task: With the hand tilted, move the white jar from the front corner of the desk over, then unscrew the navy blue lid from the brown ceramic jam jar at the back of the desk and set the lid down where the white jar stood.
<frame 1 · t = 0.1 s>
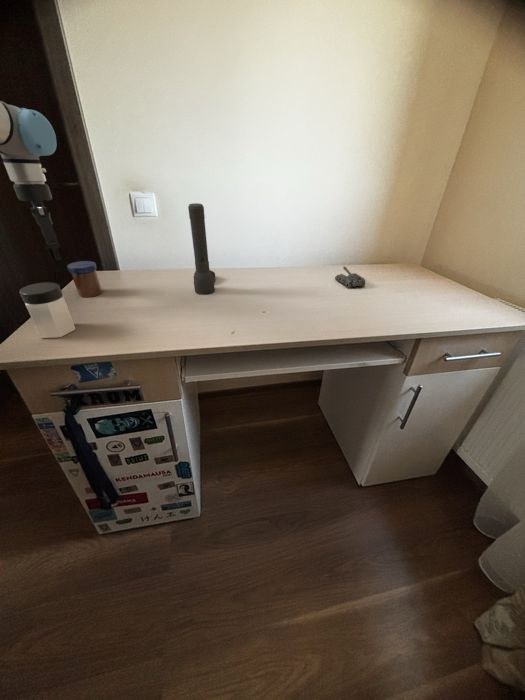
hand: (59, 265, 84), 12 cm above the table, tool pointing down, fingers open, 13 cm apart
lid: (81, 265, 92), point 9 cm above the table, screwed on, not yet turned
jar: (57, 331, 75), on the table
tank toy: (349, 283, 114), on the table
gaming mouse: (207, 282, 110), on the table, touching flashlight
jam jar: (90, 293, 97), on the table
flashlight: (204, 290, 102), on the table, touching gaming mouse
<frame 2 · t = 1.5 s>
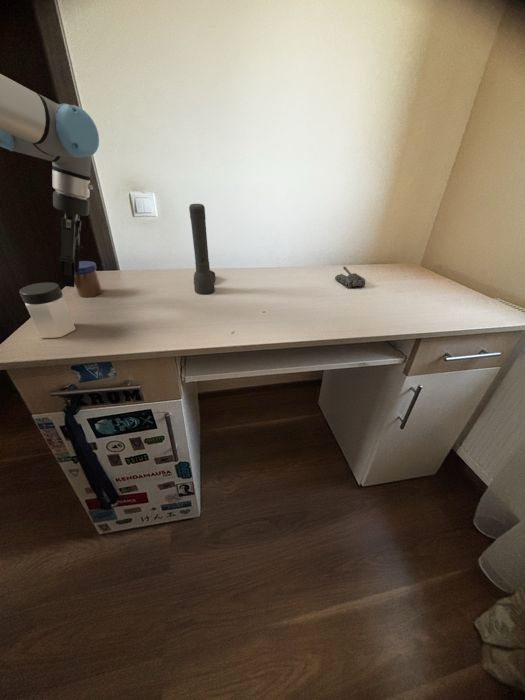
hand: (70, 278, 78), 11 cm above the table, tool tilted 15°, fingers open, 13 cm apart
flashlight: (204, 290, 102), on the table, touching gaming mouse
everything else where it was.
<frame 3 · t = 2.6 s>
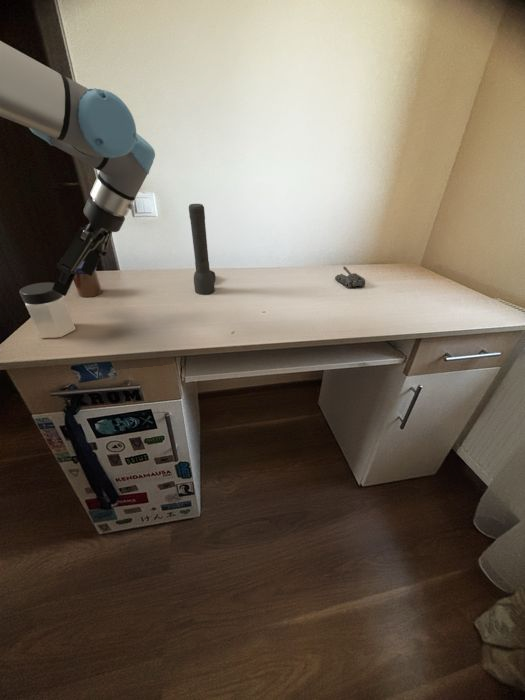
hand: (73, 281, 70), 13 cm above the table, tool tilted 35°, fingers open, 13 cm apart
nothing on the table moved.
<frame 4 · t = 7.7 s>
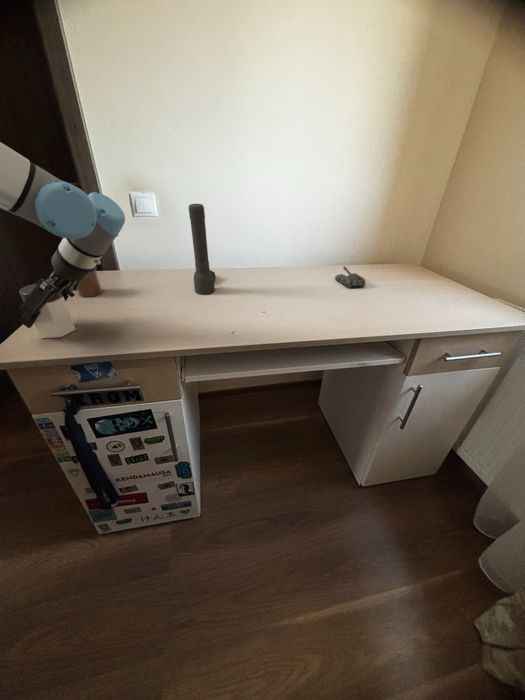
hand: (40, 315, 73), 4 cm above the table, tool tilted 45°, fingers closed on jar, 9 cm apart
jar: (57, 331, 75), on the table, touching gripper
everything else where it was.
when the fingers open (4 cm above the table, at t = 17.1 s): jar stays where it is, on the table.
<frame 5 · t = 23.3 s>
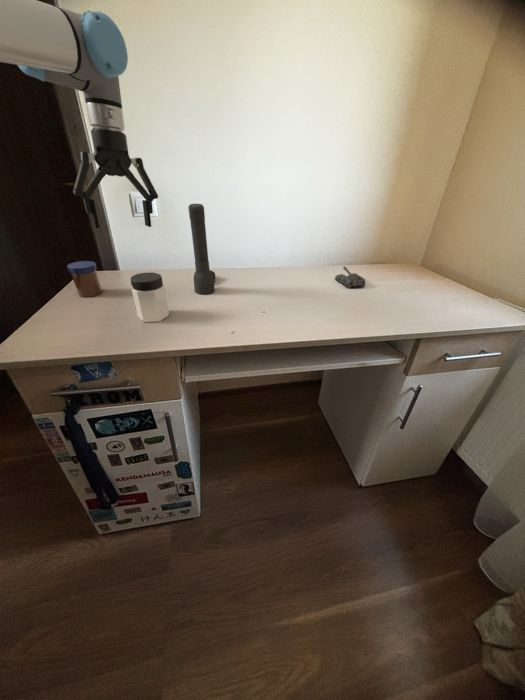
hand: (123, 226, 78), 23 cm above the table, tool pointing down, fingers open, 13 cm apart
jar: (153, 316, 84), on the table
everything else where it was.
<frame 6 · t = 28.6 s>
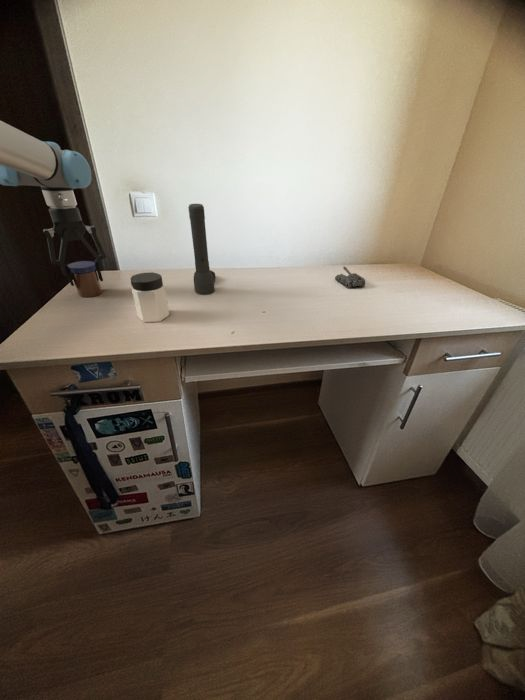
hand: (87, 282, 95), 4 cm above the table, tool pointing down, fingers closed on lid, 8 cm apart
lid: (81, 265, 92), point 9 cm above the table, screwed on, not yet turned, touching gripper
everything else where it was.
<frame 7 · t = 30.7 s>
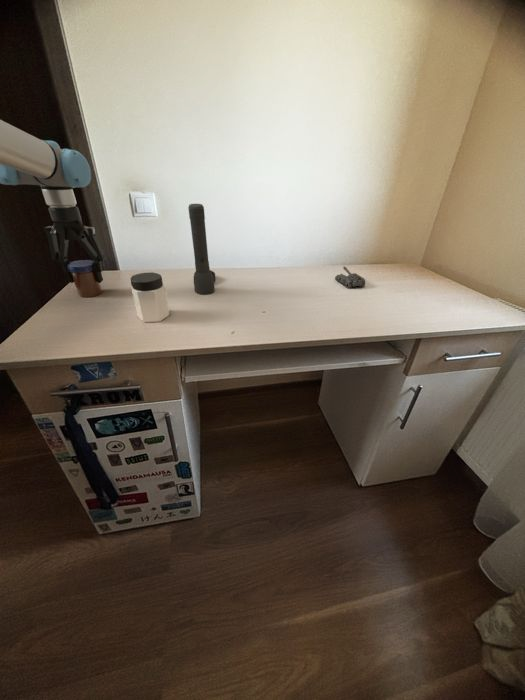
hand: (87, 281, 94), 4 cm above the table, tool pointing down, fingers closed on lid, 8 cm apart
lid: (81, 264, 91), point 10 cm above the table, off its thread, touching gripper
everything else where it was.
when the fingers open (0 cm above the table, at t = 39.8 s): lid drops 4 cm, point 1 cm above the table.
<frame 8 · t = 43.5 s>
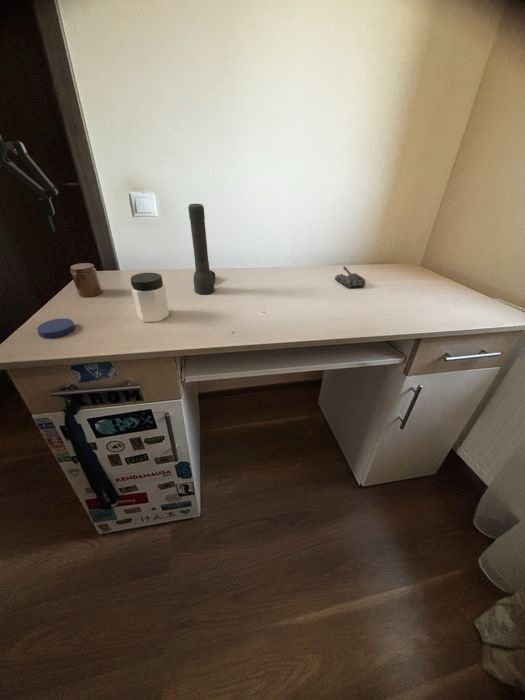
hand: (16, 232, 61), 25 cm above the table, tool pointing down, fingers open, 13 cm apart
lid: (56, 326, 74), point 1 cm above the table, off its thread
everything else where it was.
at the end: lid inside the target area (0.1 cm from its centre), point 1.3 cm above the table; jar inside the target area (0.0 cm from its centre), on the table; jar tilted 0° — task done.
